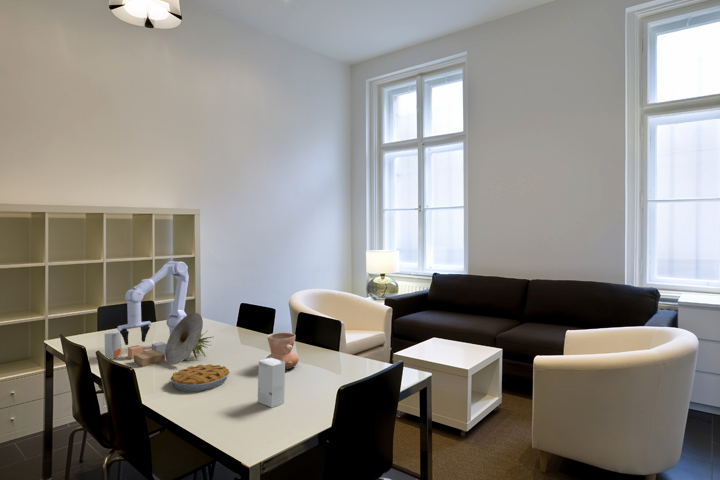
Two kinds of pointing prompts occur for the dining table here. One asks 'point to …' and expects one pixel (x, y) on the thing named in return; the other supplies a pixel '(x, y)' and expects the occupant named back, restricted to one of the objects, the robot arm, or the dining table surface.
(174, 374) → the pie
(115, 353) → the skincare box
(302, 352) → the dining table surface
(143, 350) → the tile
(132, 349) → the terracotta cube
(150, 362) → the walnut block
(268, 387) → the skincare box
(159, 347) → the slate grey cube
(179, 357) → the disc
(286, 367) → the ceramic jug
